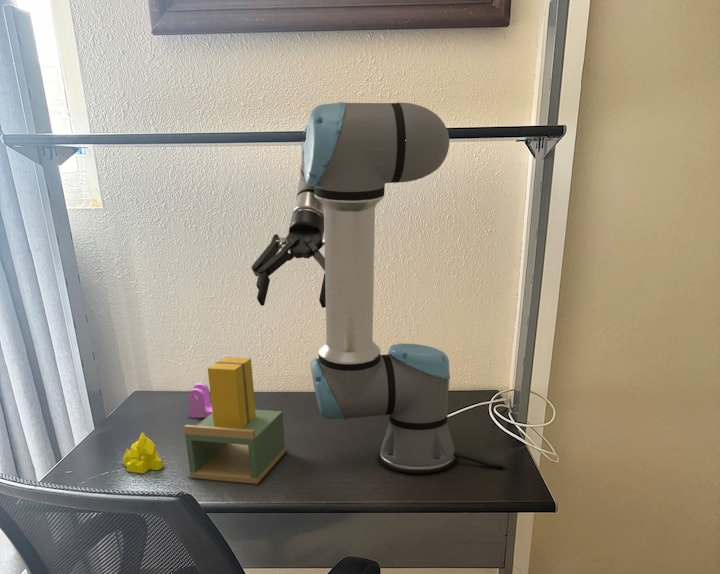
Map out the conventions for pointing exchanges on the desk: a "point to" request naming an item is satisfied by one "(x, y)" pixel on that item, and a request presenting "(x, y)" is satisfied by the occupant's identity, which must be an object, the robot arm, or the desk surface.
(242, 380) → the package
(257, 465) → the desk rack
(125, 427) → the desk surface
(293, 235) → the robot arm
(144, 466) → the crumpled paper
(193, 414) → the bracket
